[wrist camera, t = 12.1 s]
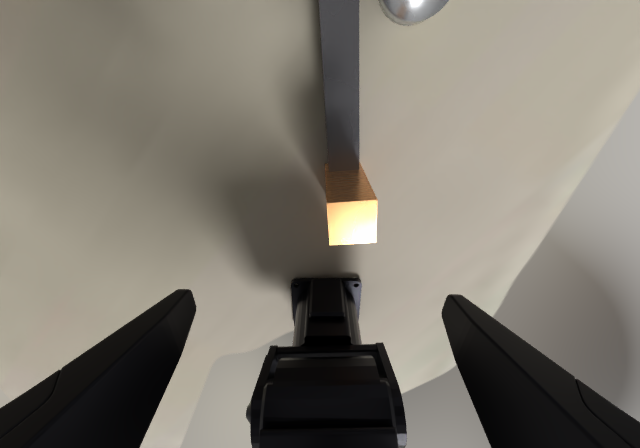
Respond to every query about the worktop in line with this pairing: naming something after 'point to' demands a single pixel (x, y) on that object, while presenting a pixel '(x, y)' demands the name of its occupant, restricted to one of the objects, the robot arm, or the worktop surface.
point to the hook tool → (344, 127)
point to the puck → (410, 10)
